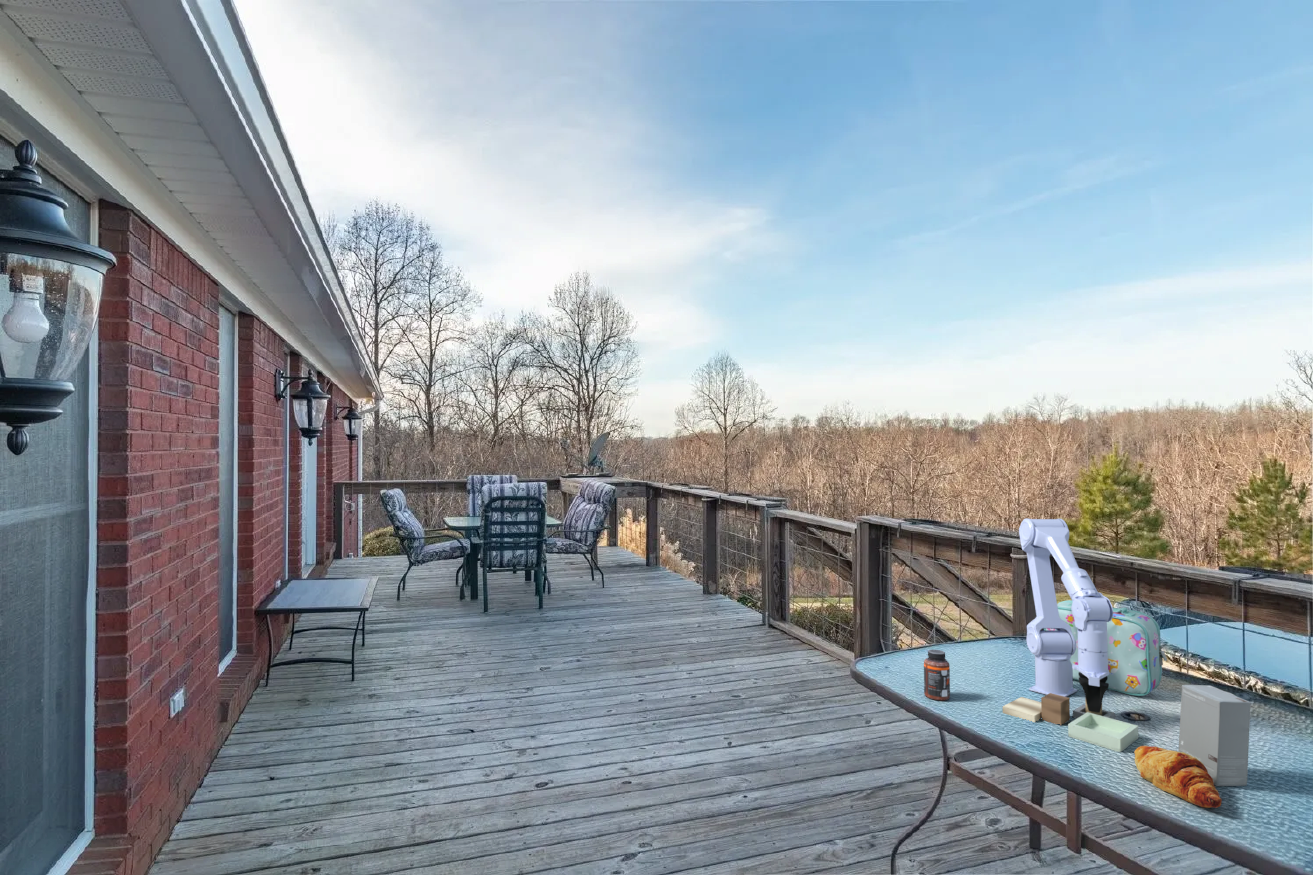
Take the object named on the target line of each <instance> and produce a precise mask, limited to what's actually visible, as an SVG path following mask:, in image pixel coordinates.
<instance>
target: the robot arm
mask: <svg viewBox="0 0 1313 875" xmlns="http://www.w3.org/2000/svg"><path fill="white" fill-rule="evenodd" d="M1018 533H1019V540H1020V545H1021V549H1022V551H1024V552H1025V553H1026V557H1027V564H1028V570H1029V577H1030V582H1031V583H1030V584H1031V589H1032V596H1033V602H1034V608H1035V615H1036V616H1035V617H1034V619H1032V620H1031V621H1030V622H1029V623H1028V624H1027V625H1026V638H1025V639H1026V646H1027V648H1028V650H1029V651H1030V652H1031V654H1032V655H1034V667H1035V668H1034V675H1035V684H1034V685H1033V686H1030V687H1029V688H1028V690H1029V691H1031V692H1035V693H1039V694H1043V695H1047V694H1049V693H1052V694H1056V695H1060V696H1064V697H1069V696H1071V695H1072V694H1074V693H1076V692H1078V689H1077V688H1074V683H1073V681H1074V679H1073V669H1074V670H1078V671H1080V672H1079V673H1078V674H1079V676H1080V678H1079V681H1078V682H1079V684H1080V686H1081V688H1082V691H1083V694H1084V697H1086V702H1087V707H1088V710H1089V711H1092V712H1097V713H1100V710H1101V705H1102V706H1103V698H1104V697H1105V696H1104V695H1105V694H1106V692H1107V691H1108V690H1109V689H1108V687H1109V684H1108V683H1106V681H1107V679H1108V677H1107V676H1108V675H1109V670H1108V642H1107V622H1109V621H1111V620H1112V618H1113V608H1114V607H1113V605H1112V603H1111V600H1110V599H1109V598H1108V597H1107V596H1104V595H1103V593H1102V592H1099V591H1098V590H1097V588H1096V586H1095V584H1094V582H1093V581H1092V578H1091V577H1090V575H1089V574H1088V572H1087V571H1086V569H1083V568H1080V567H1079V565H1078V562H1077V560H1076V559H1075V556H1074V553H1073V552H1072V548H1071V546H1070V544H1069V540H1070V530H1069V527H1068V524H1067V523H1066V521H1065V519H1063V518H1054V519H1053V518H1047V519H1046V518H1039V519H1038V518H1024V519H1023V520H1022V521H1021V523H1020V526H1019V528H1018ZM1050 556H1052V557H1053V558H1054V560H1055V562H1056V563H1057V565H1058V567H1059V568H1060V570H1061V571H1062V575H1061V578H1060V580H1061V582H1062V584H1063V585H1064V587H1065V589H1066V592H1067V594H1068V595H1069V597H1070V599H1071V600H1072V601H1073V603H1072V606H1071V610H1072V614H1073V616H1074V620H1075V626H1076V627H1077V628H1078V665H1074V664H1073V665H1072V663H1071V661H1070V660H1069V659H1071V656H1072V655H1073V654H1074V653H1075V651H1076V640H1075V638H1074V636H1073V634H1072V631H1071V627H1070V625H1069V624H1067V623H1066V622H1065V621H1063V620H1062V619H1061V618H1060V617H1059V612H1058V606H1057V604H1058V601H1057V596H1056V589H1055V583H1054V577H1053V571H1052V566H1051V560H1050ZM1044 628H1050V629H1056V630H1058V631H1053V630H1044ZM1042 629H1043V630H1042Z"/></svg>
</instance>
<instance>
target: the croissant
mask: <svg viewBox="0 0 1313 875" xmlns="http://www.w3.org/2000/svg"><path fill="white" fill-rule="evenodd" d="M1133 753H1134V763H1135V766H1136V770H1138V771H1139V773H1140V778H1142V779H1144V780H1146V781H1148V782H1149V783H1151V784H1152V785H1153V786H1154V787H1156V788H1157V789H1159V790H1161V791H1163V792H1166V793H1168V794H1171V795H1174V796H1176V797H1178V798H1181V799H1182V800H1184V802H1185V801H1186V802H1188V803H1191V804H1193V805H1196V806H1199V807H1201V808H1205V809H1206V808H1209V809H1211V808H1213V809H1214V808H1215V809H1217V808H1219V807H1221V805H1222V801H1223V799H1222V798H1221V797H1220V793H1219V790H1218V789H1217V788H1216V785H1214V782H1213V779H1212V777H1211V776H1210V775H1209V774H1208V771H1207V769H1206V767H1205V766H1204V764H1203V763H1202V762H1201V761H1199V760H1198V759H1197V758H1196V757H1193V756H1191V755H1189V754H1186V753H1184V752H1178V750H1170V749H1165V748H1163V747H1159V746H1152V745H1151V746H1149V745H1140V746H1138V747H1137V748H1136V749H1135V750H1134V752H1133Z"/></svg>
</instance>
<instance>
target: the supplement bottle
mask: <svg viewBox="0 0 1313 875" xmlns="http://www.w3.org/2000/svg"><path fill="white" fill-rule="evenodd" d="M927 656H928V657H927V658H925V659H923V660H924V661H923V692H924V693H923V694H924V696H925V697H927V698H928V699H931V700H935V701H942V702H943V701H948V700H949V699H950V697H951V680H950V679H951V678H950V674H951V673H950V671H951V670H950V668H951V667H950V662H949V661H948V660H947V659H946V652H945V651H944V650H940V649H929V650H927Z"/></svg>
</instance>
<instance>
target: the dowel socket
mask: <svg viewBox="0 0 1313 875" xmlns="http://www.w3.org/2000/svg"><path fill="white" fill-rule="evenodd" d="M1085 713H1086V709H1085V704H1082V705H1080V706H1079V707H1077V708H1075V709H1073V710H1072V718H1074V719H1077V718H1079V717H1080V716H1082V715H1084V714H1085ZM1102 716H1104V717H1108V718H1111V719H1115V720H1116V712H1113V711H1110V710H1105V709H1102Z"/></svg>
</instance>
